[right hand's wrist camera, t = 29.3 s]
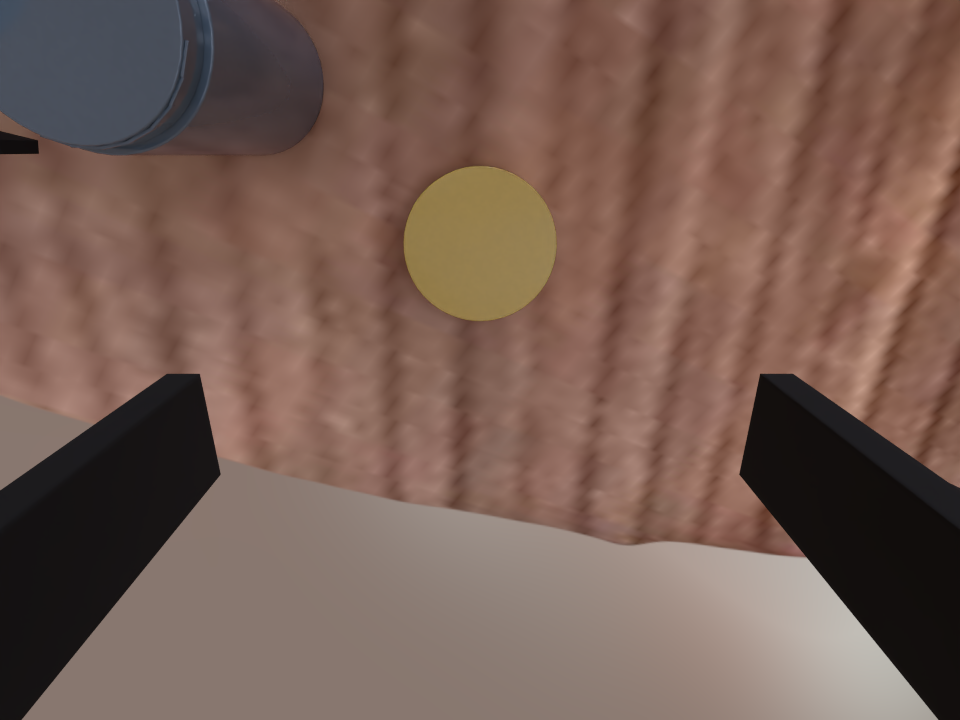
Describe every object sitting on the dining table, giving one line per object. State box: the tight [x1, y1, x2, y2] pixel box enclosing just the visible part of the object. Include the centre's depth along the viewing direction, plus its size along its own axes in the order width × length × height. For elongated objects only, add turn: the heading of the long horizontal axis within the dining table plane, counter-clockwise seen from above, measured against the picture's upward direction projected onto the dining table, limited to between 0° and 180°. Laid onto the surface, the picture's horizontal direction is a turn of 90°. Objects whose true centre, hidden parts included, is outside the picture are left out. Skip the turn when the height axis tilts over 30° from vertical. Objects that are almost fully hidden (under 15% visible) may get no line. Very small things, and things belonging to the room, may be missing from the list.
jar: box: [0, 0, 323, 155], centre depth 27 cm, size 10×10×17 cm
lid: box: [404, 166, 557, 321], centre depth 38 cm, size 11×11×2 cm
